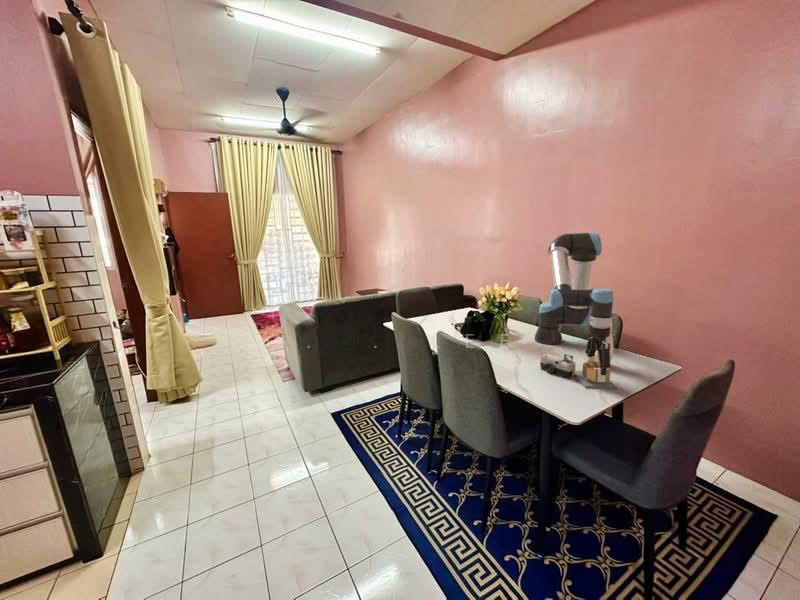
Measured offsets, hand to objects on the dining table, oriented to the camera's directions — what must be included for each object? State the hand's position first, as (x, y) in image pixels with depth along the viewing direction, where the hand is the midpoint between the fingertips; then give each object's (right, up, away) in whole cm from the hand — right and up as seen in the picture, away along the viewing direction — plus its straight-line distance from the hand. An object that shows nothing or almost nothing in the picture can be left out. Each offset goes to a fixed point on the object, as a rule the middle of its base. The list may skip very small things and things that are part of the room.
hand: (595, 376), depth 138 cm
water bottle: (+13, +1, +18) cm, 22 cm away
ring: (0, 0, 0) cm, 0 cm away
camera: (-11, -2, +12) cm, 16 cm away
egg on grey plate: (0, -2, +3) cm, 4 cm away
